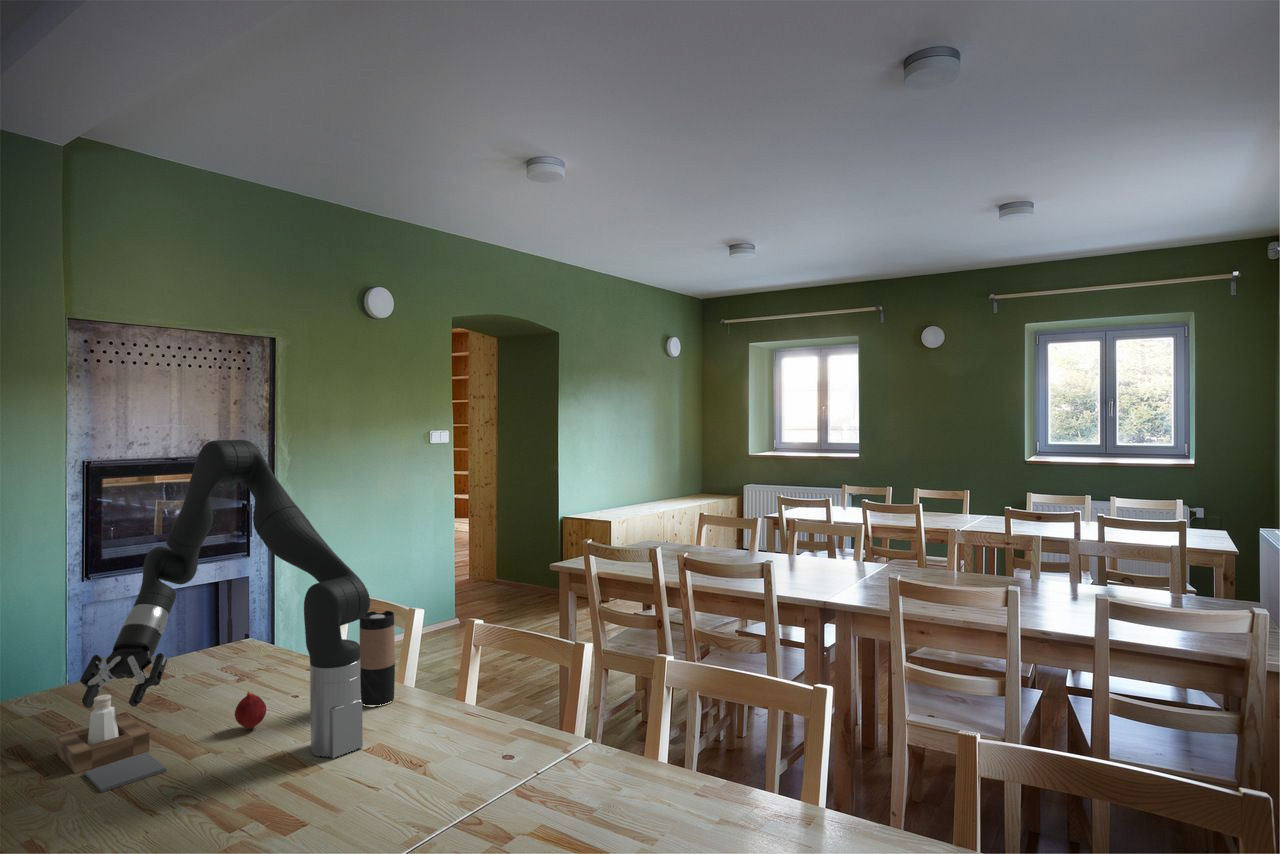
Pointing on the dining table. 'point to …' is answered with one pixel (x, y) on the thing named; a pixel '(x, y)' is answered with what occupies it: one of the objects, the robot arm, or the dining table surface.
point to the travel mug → (377, 658)
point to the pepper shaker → (102, 720)
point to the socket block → (102, 746)
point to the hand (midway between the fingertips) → (109, 705)
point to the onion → (250, 711)
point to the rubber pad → (124, 772)
